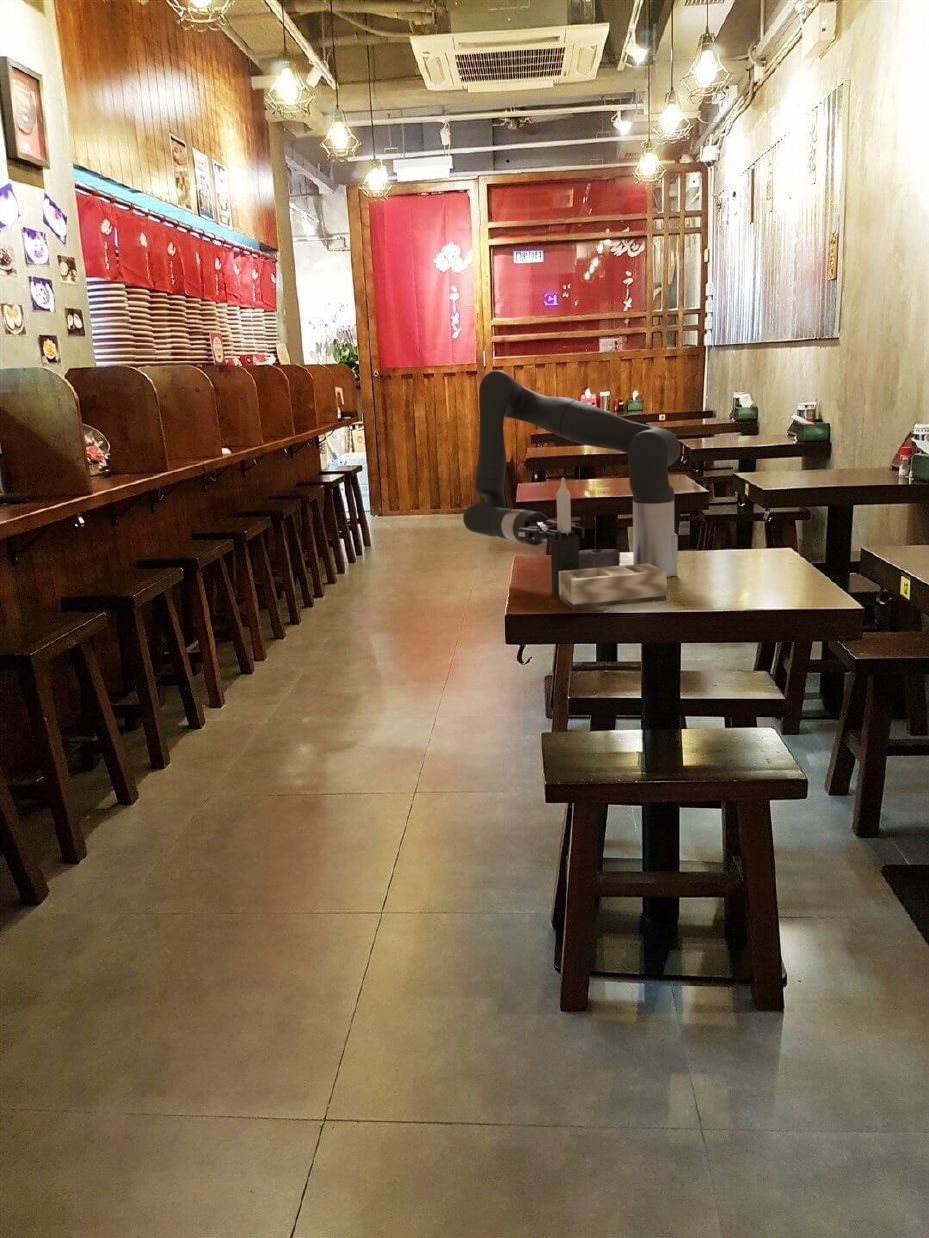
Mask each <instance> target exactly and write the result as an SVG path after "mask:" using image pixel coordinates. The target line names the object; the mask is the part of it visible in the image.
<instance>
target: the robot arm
mask: <svg viewBox="0 0 929 1238" xmlns="http://www.w3.org/2000/svg"><path fill="white" fill-rule="evenodd" d="M478 407H479V440H478V441H479V444H478V446H479V447H478V456H477V457H478V458H477V463H476V464H477V466H476V473H475V481H474V491H475V492H476V493H477V495H479V496H481V497H482V498H483V499H484V500H485V503H486V504H485V503H480V502H475V503H471V504H470V505H468V506H467V507H466V509H465V510H464V512H463V516H462V522H463V524H464V526H465V528H466V529H467V530H468V531H470V532H472V533H476V534H480V535H484V536H487V537H488V536H489V537H494V538H495V537H499V538H501V539H506V540H510V541H512V542H516V543H520V544H525V545H530V546H539V545H542V544H543V543H544V542H548V541H549V542H551V541H555V542H560V541H561V532H560V531H557V521H555V520H553V519H552V520H550V519H549V518H548V516H547V515H546V514H544V513H543V512H540V511H535V510H534V511H533V510H529V509H512V508H507V506H506V499H505V498H506V497H505V491H504V489H505V488H504V487H505V482H506V481H505V480H506V474H507V473H506V470H507V453H506V445H505V436H504V435H505V434H504V433H505V432H504V425H505V424H504V423H505V418H507V419H513V420H517V421H522V422H526V423H528V424H532V425H534V426H537V427H538V428H541V429H543V430H545V431H547V432H548V433H551V434H554V435H555V436H558V437H561V438H563V439H566V440H568V441H571V442H574V443H576V444H580V445H585V446H588V447H595V448H600V449H601V448H602V449H608V450H614V451H619V452H622V453H625V454H627V455H628V456H627V457H628V458H627V459H628V462H627V463H628V479H629V480H628V481H629V488H630V491H631V494H632V538H633V539H632V549H633V551H632V553H633V555H632V556H633V557H632V559H633V560H632V561H633V563H632V565H633V564H644V563H649V564H651V565H653V566H655V567H657V568H660V569H662V570H664V571H666V572H667V578H670V577H675V576H678V541H679V540H678V534H677V533H675V489H674V488H673V486H671V484H670V481H669V470H668V469H669V468H668V467H670V466H672V465H673V464H674V463H675V462H677V460H678V459H679V457H680V454H681V444H680V442H679V440H678V437H676V435H675V434H674V433H672V432H671V430H668V429H665V428H662V427H657V426H653V425H648V424H644V423H639V422H635V421H632V420H630V419H626V418H624V417H621V416H619V415H617V414H614V413H612V412H610V411H608V410H604V409H602V408H599V407H596V406H594V405H592V404H589V403H587V402H584V401H580V400H577V399H574V398H571V397H566V396H565V397H564V396H547V395H544V394H541V393H538V392H535V391H533V390H532V389H529V388H527V387H525V386H523V385H522V384H520V383H519V382H518V381H517V380H516V379H515V378H513V377H512V376H511V375H510V374H509V373H507V372H505V371H503V370H500V369H499V370H498V369H496V370H492V371H490V372H487V373H486V374H485V375H484V376H483V378H482V379H481V382H480V383H479V389H478ZM571 530H572V531H575V534H577V535H578V539H583V538H585V536H586V535H585V534H586V533H585V530H586V529H585V528H584V527H581V526H580V523H579V522H574V521H571Z"/></svg>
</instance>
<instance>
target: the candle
mask: <svg viewBox="0 0 929 1238" xmlns="http://www.w3.org/2000/svg"><path fill="white" fill-rule="evenodd" d="M560 481H561V483H560V486H559V489H558V490H557V492H556V522H557V531H560V532H561V541H560V542H555V541H550V557H551V558H550V559H551V564H550V565H551V592H552V594H555V595H556V596H558V597H559V571H566V570H578V569H579V551H580V549H579V538H578V535H577V534H575V531H572V530H571V522H572V516H571V515H572V513H571V492H570V491H569V489H568V488H567V484H566V479H565V477H562V478H561V479H560Z"/></svg>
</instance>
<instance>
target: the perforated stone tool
mask: <svg viewBox="0 0 929 1238" xmlns="http://www.w3.org/2000/svg"><path fill="white" fill-rule="evenodd" d="M620 556H621V553H620V552H619V551H618V550H617V548H615V549H614V548H611V549H610V548H609V549H608V548H607V549H606V548H603V549H602V548H601V549H595V548H593V549H584V550H579V569H589V568H600V567H611V566H620V564H621V560H620V558H621V557H620Z"/></svg>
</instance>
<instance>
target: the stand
mask: <svg viewBox="0 0 929 1238" xmlns="http://www.w3.org/2000/svg"><path fill="white" fill-rule="evenodd" d="M667 578H668V577H667V572H666V571H664V570H662V569H660V568H657V567H655V566H653V565H651V564H649V563H644V564H633V563H632V564H625V565H622V564H621V565H619V566H611V567H600V568H589V569H578V570H566V571H559V596H558V599H559V600H560V601H562V602H563V603H564V604H566V605H567V606H569V607H570V608H571V609H572V610H581V609H580V608H582V609H591V608H590V607H592V608H601V607H610V606H612V607H613V606H621V604H623V605H631V604H641V603H650V602H651V603H654V602H661V601H663V602H664V601H667V600H668V599H667V597H668V596H667V593H668V592H667V589H668V588H667ZM653 601H654V602H653Z"/></svg>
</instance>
